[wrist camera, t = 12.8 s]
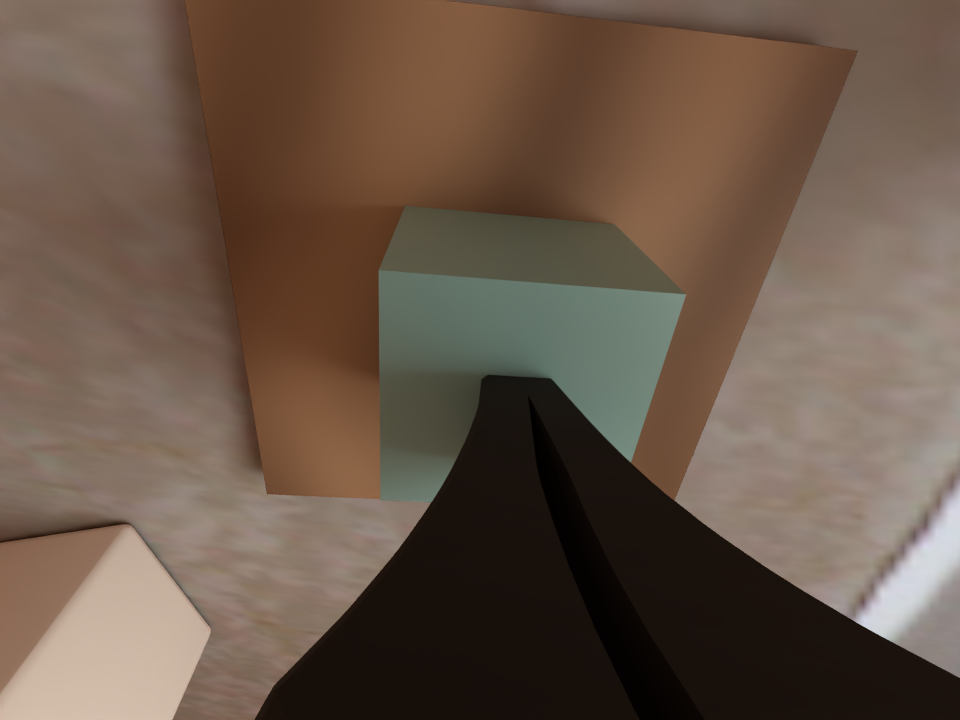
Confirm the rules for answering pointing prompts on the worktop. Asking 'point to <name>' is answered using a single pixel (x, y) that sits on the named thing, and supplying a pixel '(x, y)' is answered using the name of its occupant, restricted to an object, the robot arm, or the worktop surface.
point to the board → (485, 185)
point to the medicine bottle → (93, 629)
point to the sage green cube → (511, 330)
